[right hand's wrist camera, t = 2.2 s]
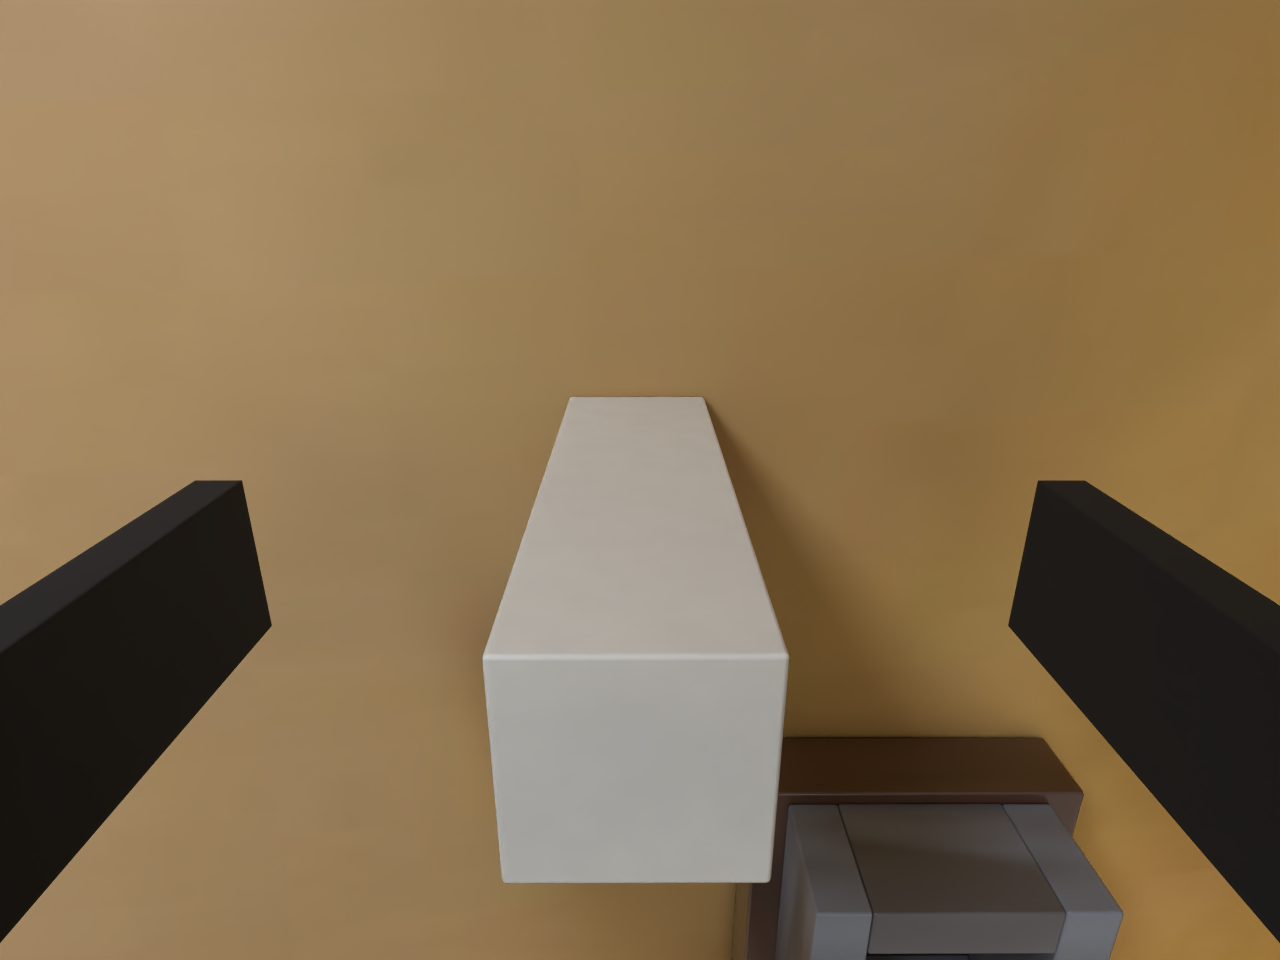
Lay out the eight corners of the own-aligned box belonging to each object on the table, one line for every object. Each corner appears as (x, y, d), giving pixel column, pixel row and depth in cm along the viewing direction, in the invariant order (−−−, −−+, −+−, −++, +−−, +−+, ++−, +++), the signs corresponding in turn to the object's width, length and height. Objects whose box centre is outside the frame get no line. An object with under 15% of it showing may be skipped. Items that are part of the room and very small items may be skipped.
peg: (700, 519, 18) (771, 886, 8) (573, 520, 18) (501, 885, 8) (704, 395, 17) (791, 656, 7) (569, 396, 17) (480, 656, 7)
